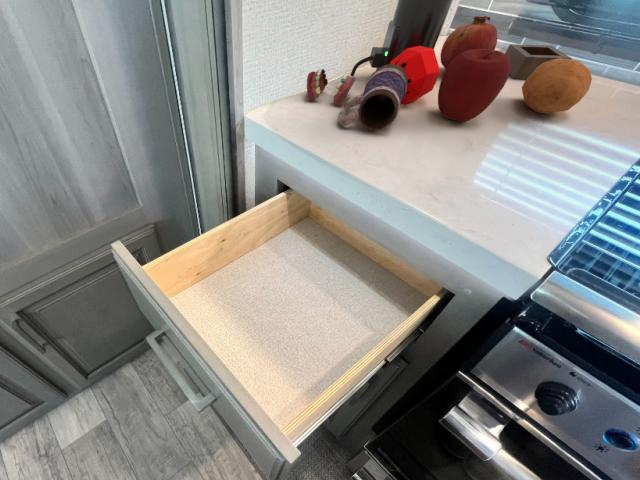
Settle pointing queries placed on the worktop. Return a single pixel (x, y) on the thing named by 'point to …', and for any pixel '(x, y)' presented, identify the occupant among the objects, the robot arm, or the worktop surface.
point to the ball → (418, 71)
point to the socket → (530, 58)
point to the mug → (377, 99)
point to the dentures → (319, 81)
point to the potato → (556, 85)
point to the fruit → (469, 39)
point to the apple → (472, 83)
